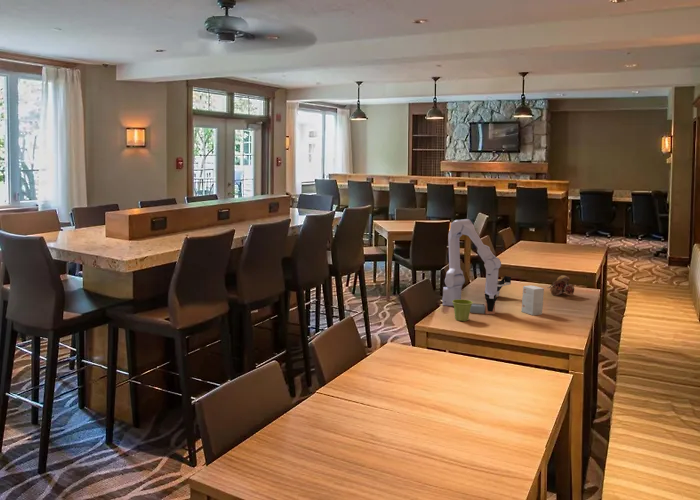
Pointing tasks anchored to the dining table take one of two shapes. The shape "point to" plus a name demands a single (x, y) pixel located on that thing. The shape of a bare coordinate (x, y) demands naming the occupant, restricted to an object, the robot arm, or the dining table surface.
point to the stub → (487, 309)
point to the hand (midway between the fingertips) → (489, 309)
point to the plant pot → (462, 309)
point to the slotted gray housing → (477, 308)
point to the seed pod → (562, 286)
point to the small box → (532, 300)
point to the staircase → (501, 283)
